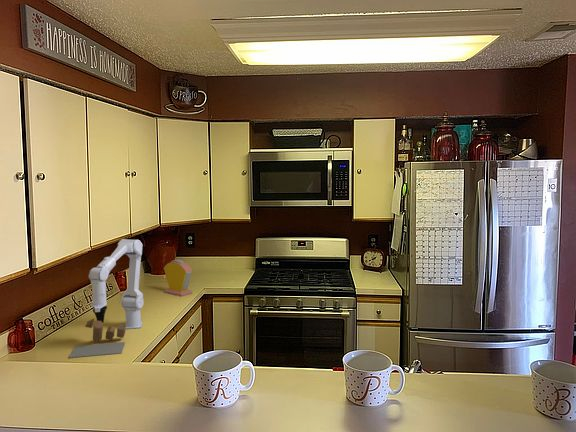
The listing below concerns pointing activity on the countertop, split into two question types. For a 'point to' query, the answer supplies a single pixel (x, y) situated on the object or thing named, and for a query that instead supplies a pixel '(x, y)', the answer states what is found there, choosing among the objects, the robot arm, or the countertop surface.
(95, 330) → the wooden block set
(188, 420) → the countertop surface
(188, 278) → the yellow arched block
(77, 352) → the mat
